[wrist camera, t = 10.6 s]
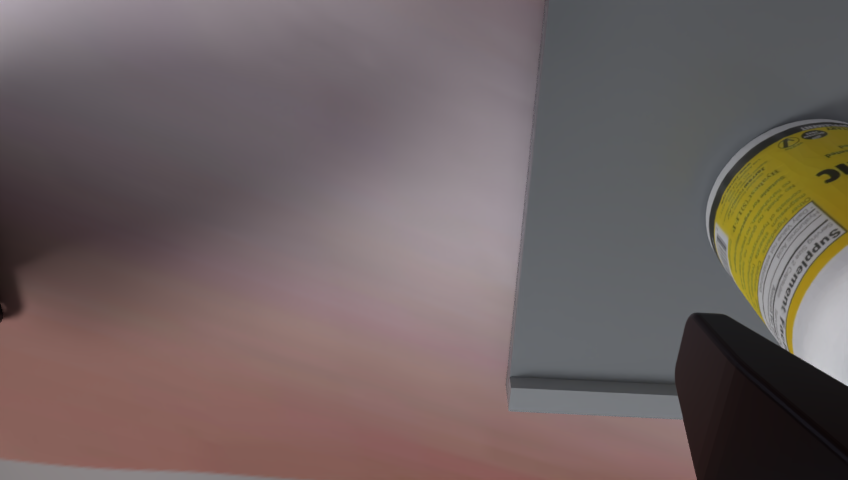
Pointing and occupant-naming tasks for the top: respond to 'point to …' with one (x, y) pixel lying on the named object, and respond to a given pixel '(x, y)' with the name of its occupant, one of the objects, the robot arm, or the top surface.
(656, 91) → the gray tray
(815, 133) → the supplement bottle
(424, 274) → the top surface
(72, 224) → the top surface
